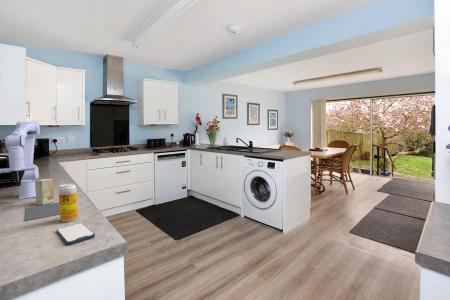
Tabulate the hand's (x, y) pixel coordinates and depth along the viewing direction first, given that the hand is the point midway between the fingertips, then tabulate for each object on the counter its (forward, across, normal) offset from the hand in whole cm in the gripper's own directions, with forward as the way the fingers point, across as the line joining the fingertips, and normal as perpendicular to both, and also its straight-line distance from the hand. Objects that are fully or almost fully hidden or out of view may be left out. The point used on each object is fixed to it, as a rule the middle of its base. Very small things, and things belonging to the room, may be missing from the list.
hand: (18, 185), depth 118 cm
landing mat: (+9, +10, -21) cm, 25 cm away
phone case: (+10, +17, -58) cm, 62 cm away
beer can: (+10, +17, -41) cm, 45 cm away
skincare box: (+9, +10, -8) cm, 16 cm away
